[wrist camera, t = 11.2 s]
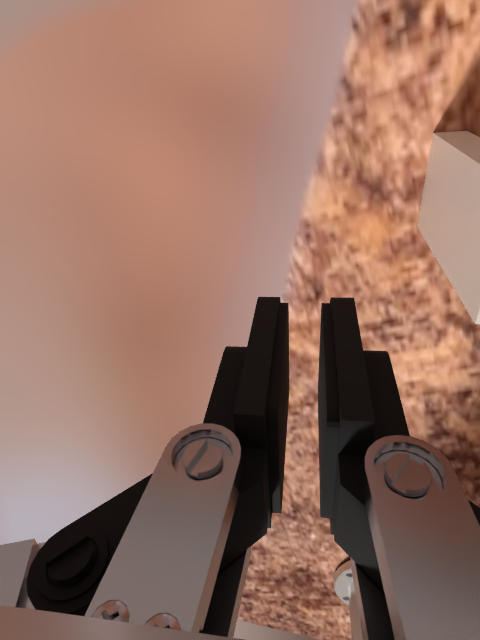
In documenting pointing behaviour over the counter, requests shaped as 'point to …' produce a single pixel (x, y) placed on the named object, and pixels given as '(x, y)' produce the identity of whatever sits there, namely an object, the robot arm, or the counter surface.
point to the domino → (454, 212)
